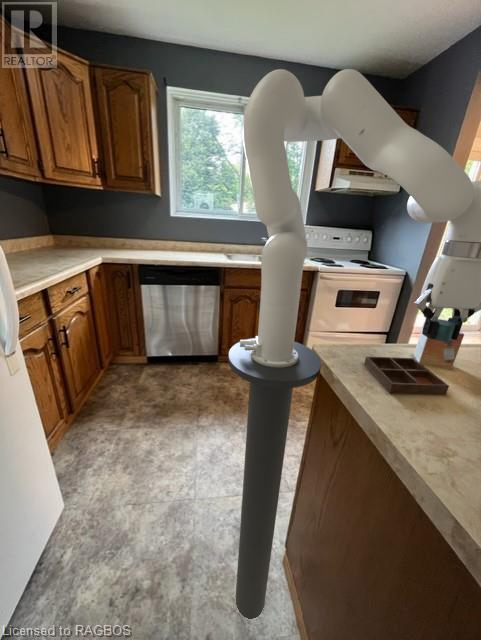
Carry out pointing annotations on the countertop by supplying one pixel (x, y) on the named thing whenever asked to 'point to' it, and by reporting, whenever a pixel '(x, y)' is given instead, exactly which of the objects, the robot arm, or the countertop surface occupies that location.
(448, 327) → the teal cylinder
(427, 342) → the small box
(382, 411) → the countertop surface
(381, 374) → the grid
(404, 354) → the countertop surface
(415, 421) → the countertop surface
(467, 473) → the countertop surface
